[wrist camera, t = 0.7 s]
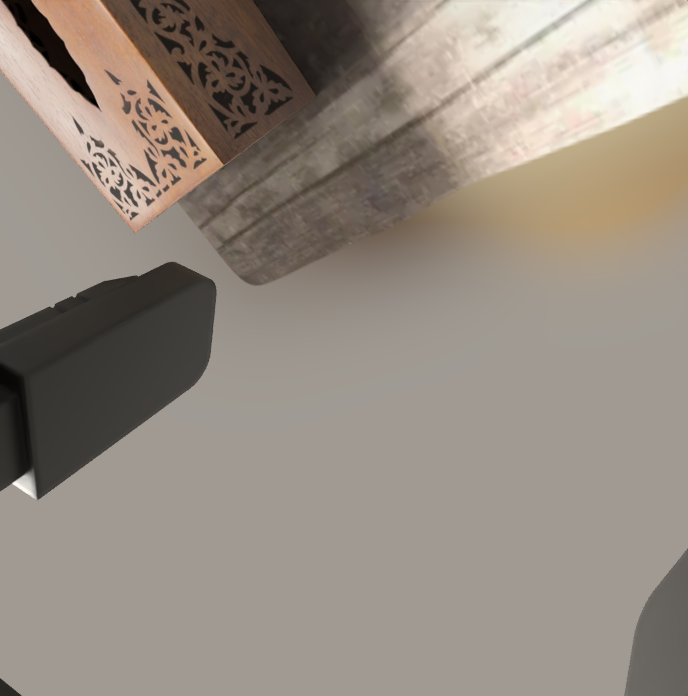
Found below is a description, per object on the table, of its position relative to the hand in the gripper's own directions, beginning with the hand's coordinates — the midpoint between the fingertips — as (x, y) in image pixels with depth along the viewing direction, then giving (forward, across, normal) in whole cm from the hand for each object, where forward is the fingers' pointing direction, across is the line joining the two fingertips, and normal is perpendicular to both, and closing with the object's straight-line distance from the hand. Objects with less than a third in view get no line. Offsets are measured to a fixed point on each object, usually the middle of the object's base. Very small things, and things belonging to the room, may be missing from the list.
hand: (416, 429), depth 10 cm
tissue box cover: (+33, +35, +2) cm, 48 cm away
